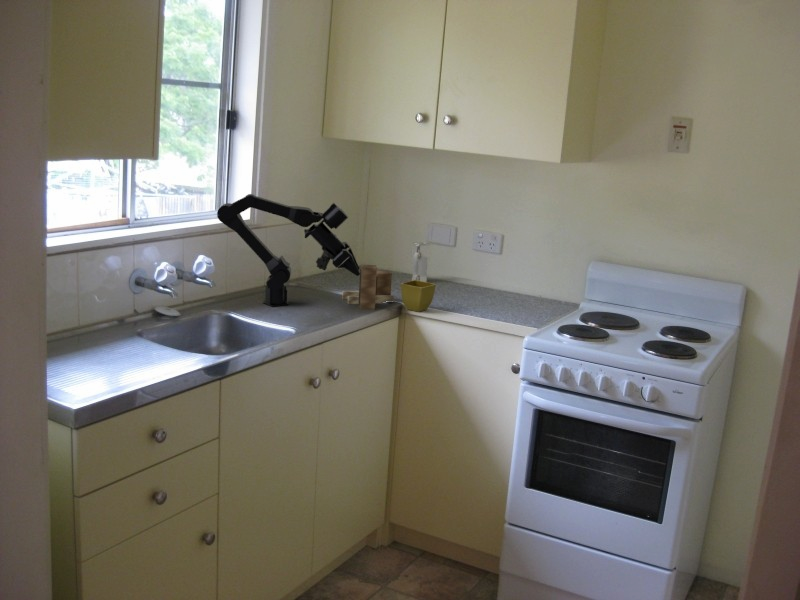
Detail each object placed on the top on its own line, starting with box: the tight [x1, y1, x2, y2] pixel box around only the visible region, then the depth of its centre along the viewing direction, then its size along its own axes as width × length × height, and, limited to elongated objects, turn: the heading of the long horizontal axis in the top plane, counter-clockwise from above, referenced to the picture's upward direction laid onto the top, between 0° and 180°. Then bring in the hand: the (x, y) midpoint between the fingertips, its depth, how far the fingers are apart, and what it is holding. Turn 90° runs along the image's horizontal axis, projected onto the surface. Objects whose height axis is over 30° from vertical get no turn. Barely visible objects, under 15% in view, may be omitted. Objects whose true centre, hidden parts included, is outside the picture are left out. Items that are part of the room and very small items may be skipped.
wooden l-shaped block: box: [341, 270, 395, 305], centre depth 307 cm, size 16×9×10 cm, turn 108°
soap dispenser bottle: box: [410, 241, 431, 282], centre depth 342 cm, size 7×7×15 cm
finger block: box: [358, 264, 378, 310], centre depth 297 cm, size 5×5×14 cm
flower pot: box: [400, 279, 437, 313], centre depth 298 cm, size 9×9×9 cm
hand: (358, 272), depth 296 cm, fingers open, 9 cm apart
